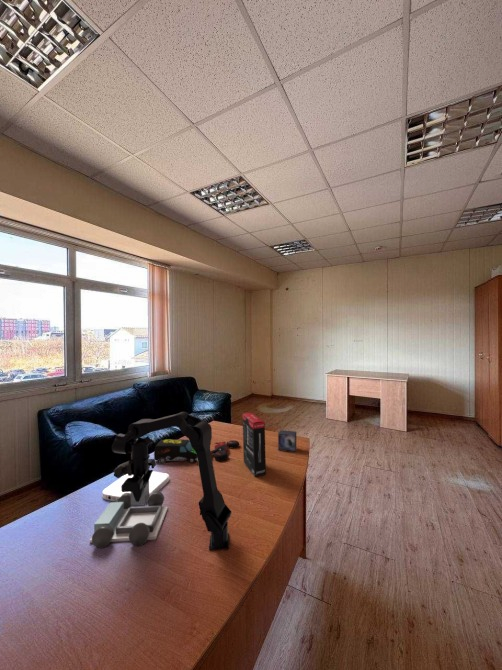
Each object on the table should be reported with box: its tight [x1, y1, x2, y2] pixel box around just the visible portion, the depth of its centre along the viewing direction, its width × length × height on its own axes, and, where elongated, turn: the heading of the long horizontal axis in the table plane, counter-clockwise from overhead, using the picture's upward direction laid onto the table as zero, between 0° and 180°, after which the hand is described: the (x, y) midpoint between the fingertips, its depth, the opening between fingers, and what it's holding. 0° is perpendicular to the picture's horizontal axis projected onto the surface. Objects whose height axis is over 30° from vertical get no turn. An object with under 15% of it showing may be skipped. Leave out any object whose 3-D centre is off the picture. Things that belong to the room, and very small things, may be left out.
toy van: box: [153, 438, 198, 464], centre depth 152 cm, size 11×25×10 cm, turn 89°
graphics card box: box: [242, 412, 267, 477], centre depth 140 cm, size 17×7×27 cm, turn 22°
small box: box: [277, 429, 298, 453], centre depth 163 cm, size 11×6×10 cm, turn 73°
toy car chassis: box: [89, 490, 169, 549], centre depth 99 cm, size 21×22×6 cm
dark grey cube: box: [131, 481, 149, 507], centre depth 99 cm, size 5×5×6 cm
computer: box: [102, 470, 170, 502], centre depth 123 cm, size 22×22×3 cm
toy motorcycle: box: [210, 440, 240, 461], centre depth 161 cm, size 25×5×16 cm
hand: (140, 496), depth 99 cm, fingers closed on dark grey cube, 5 cm apart
